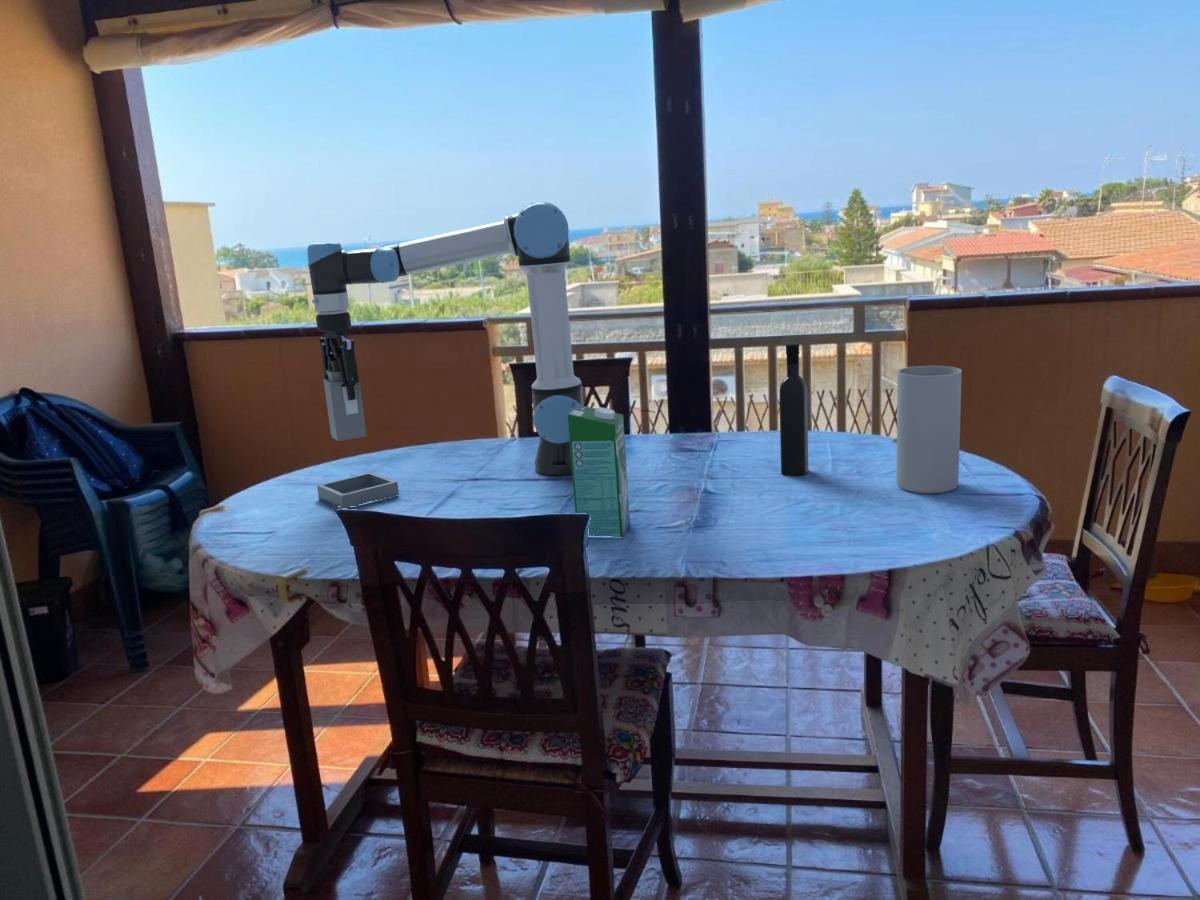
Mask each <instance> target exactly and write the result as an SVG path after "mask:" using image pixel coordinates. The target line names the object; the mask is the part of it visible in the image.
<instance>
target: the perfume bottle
mask: <svg viewBox="0 0 1200 900" xmlns="http://www.w3.org/2000/svg"><path fill="white" fill-rule="evenodd" d="M330 362H331V367H332V370H326V372H327V375H328V377H329V379H326V380H325V379H323V386H324V393H325V400H326V407H327V408H326V409H327V414H328V422H329V430H330V436H331V437H332V438H333V439H334V440H336V441H337V442H342V441H346V440H355V439H358V438H365V437H367V436H368V435H367V429H366V419H365V413H364V405H363V404H364V403H363V397H362V390H361V382H360V379H359V383H356V385H355V391H356V399H357V407H358V413H355V414H349V415H346V410H345V402H344V395H343V387H341V385H342V384H344V383H343V379H342V375H341V372H340V368H339V364H338V360H330Z"/></svg>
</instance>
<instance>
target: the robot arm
mask: <svg viewBox="0 0 1200 900" xmlns="http://www.w3.org/2000/svg"><path fill="white" fill-rule="evenodd" d="M306 250H307V251H306V252H307V263H308V264H307V267H308V271H309V277H310V283H311V289H312V298H313V299H311V303H312V304H313V306H314V311H315V312H316V313H318V314H316V315H315V322H316V328H317V331H319V332H324V337H320V338H319V339H318V340H319V344H320V349H321V359H322V369H323V376H324V380H326V379H329V377H328V375H327V372H326V370H332V367H331V362H330V360H338V364H339V368H340V372H341V375H342V379H343V383H344V384H342V385H341V387H343V395H344V402H345V410H346V415H349V414H355V413H358V407H357V399H356V391H355V385H356V383H359V380H360V378H359V373H358V367H357V359H356V353H355V341H354V339H348V336H347V332H346V330H349V329H351V328H352V320H351V313H350V312H348V310H349V309H350V305H349V304H350V303H349V295H348V289H347V285H359V284H361V285H362V284H363V285H364V284H379V283H380V284H385V283H391V282H396V281H397V280H398V279H399V277H405V276H409V275H412V274H419V273H422V272H423V273H424V272H427V271H432V270H438V269H442V268H447V267H451V266H456V265H461V264H465V263H470V262H476V261H480V260H485V259H489V258H493V257H498V256H503V255H508V254H510V255H512V256H514V257H518V265H519V266H518V267H519V268H520V269H521V270H522V271H523V272H525V274H526V280H527V289H528V298H529V299H528V300H529V309H530V311H529V312H530V321H531V331H532V339H533V349H534V352H533V353H534V361H535V362H534V363H535V371H536V372H535V373H536V379H535V380H534V382H533V383H532V384H531V397H532V405H533V406H532V407H533V415H532V423H533V426H534V428H535V430H536V432H537V434H538V435H539V441H538V445H537V451H536V456H535V459H534V470H535V472H537V473H539V474H542V475H546V476H565V475H572V465H571V453H570V440H569V428H568V414H569V413H570V412H571V411H572V410H573V409H574V408H576V407H577V406H578V405H581V406H584V398H583V397H584V396H583V390H584V387H583V385H582V379H580V377H579V376H578V377H577V376H576V375H575V373H574V362H573V353H572V351H573V350H572V340H571V337H572V336H571V329H570V328H571V327H570V318H569V317H570V316H569V307H568V306H569V304H568V303H569V302H568V295H567V293H568V292H567V285H566V283H567V281H566V269H567V268H568V267H569V265H570V264H571V263H572V262H571V251H570V240H569V222H568V220H567V218H566V215H565V214H564V213H563V211H562V210H561V209H560V208H559V207H557V206H556V205H554V204H553V203H549V202H546V201H543V202H541V201H538V202H533V203H530V204H528V205H527V206H525V207H524V208H522V209H521V210H520V211H519V212H518V213H515V214H508V215H505V217H504V219H503V220H502V221H498V222H493V223H489V224H485V225H480V226H479V225H478V226H474V227H470V228H465V229H461V230H456V231H450V232H447V233H443V234H437V235H433V236H428V237H423V238H420V239H419V238H418V239H414V240H409V241H406V242H405V241H404V242H401V243H398V244H397V243H396V244H392V245H386V246H381V247H376V248H368V249H367V248H366V249H355V250H343V248H342V245H341V243H340V242H339V241H338V242H337V241H336V242H321V243H318V242H317V243H311V244H309V245H308V246H307V249H306Z"/></svg>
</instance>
